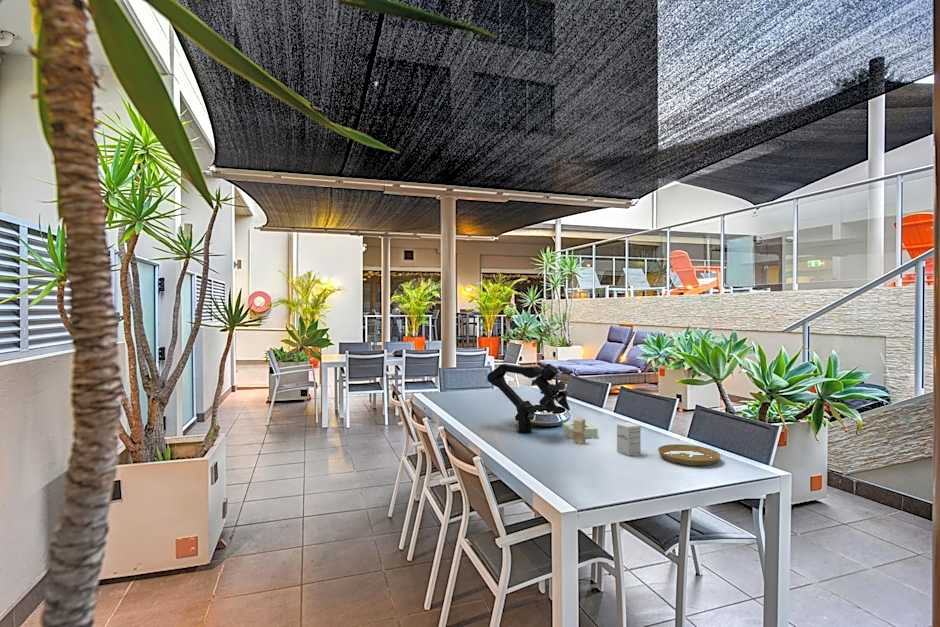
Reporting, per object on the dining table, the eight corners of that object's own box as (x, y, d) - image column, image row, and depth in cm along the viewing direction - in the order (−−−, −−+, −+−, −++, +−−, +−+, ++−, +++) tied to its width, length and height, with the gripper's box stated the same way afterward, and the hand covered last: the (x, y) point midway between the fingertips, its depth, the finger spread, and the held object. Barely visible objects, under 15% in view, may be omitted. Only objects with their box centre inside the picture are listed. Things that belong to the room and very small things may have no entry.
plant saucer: (656, 449, 221) (656, 441, 221) (715, 453, 214) (715, 446, 214) (660, 465, 198) (660, 457, 198) (725, 471, 191) (725, 462, 191)
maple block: (581, 444, 229) (581, 420, 229) (573, 442, 232) (573, 419, 232) (585, 442, 232) (585, 419, 232) (577, 440, 235) (577, 418, 235)
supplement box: (616, 451, 217) (616, 423, 217) (629, 449, 220) (629, 421, 220) (628, 456, 210) (628, 427, 210) (641, 453, 213) (641, 425, 213)
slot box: (569, 438, 239) (569, 429, 239) (562, 431, 253) (562, 422, 253) (597, 437, 240) (597, 428, 240) (589, 430, 254) (589, 422, 254)
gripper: (544, 378, 234) (564, 404, 227) (564, 374, 248) (584, 398, 241) (530, 393, 239) (550, 418, 232) (551, 388, 253) (570, 412, 246)
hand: (564, 411), depth 237 cm, fingers open, 9 cm apart
